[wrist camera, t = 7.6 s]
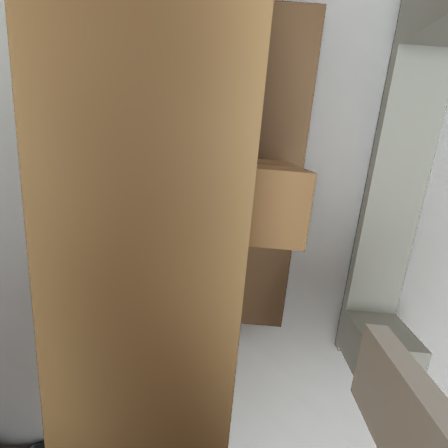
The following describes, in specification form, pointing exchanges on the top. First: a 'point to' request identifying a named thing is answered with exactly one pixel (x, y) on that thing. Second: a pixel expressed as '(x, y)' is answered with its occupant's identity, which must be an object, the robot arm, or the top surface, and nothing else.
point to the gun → (38, 445)
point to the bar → (137, 209)
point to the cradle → (397, 178)
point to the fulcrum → (282, 160)
